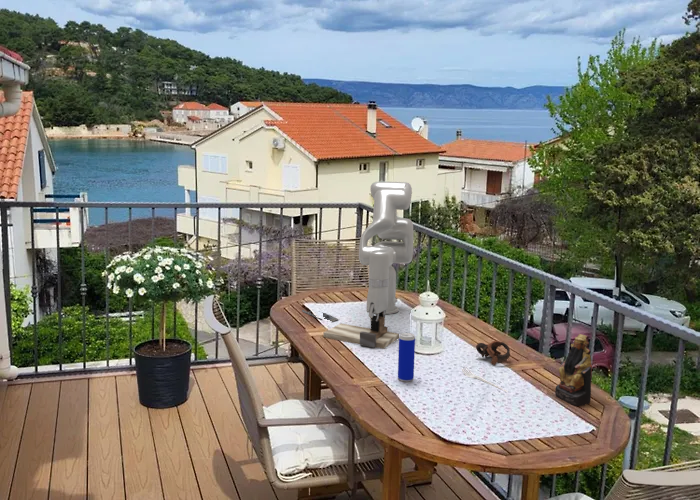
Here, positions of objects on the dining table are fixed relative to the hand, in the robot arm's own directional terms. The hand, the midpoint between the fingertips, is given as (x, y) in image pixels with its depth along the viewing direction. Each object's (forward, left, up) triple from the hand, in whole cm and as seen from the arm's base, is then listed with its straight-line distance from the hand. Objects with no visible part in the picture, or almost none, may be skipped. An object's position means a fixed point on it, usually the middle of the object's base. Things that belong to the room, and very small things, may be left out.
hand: (377, 328), depth 243 cm
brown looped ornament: (-2, +45, -5) cm, 45 cm away
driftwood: (-18, -36, -6) cm, 40 cm away
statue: (+19, +76, -5) cm, 79 cm away
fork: (+19, +48, -6) cm, 52 cm away
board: (0, -7, -5) cm, 9 cm away
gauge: (+1, 0, -4) cm, 5 cm away
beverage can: (+30, +25, -5) cm, 39 cm away
